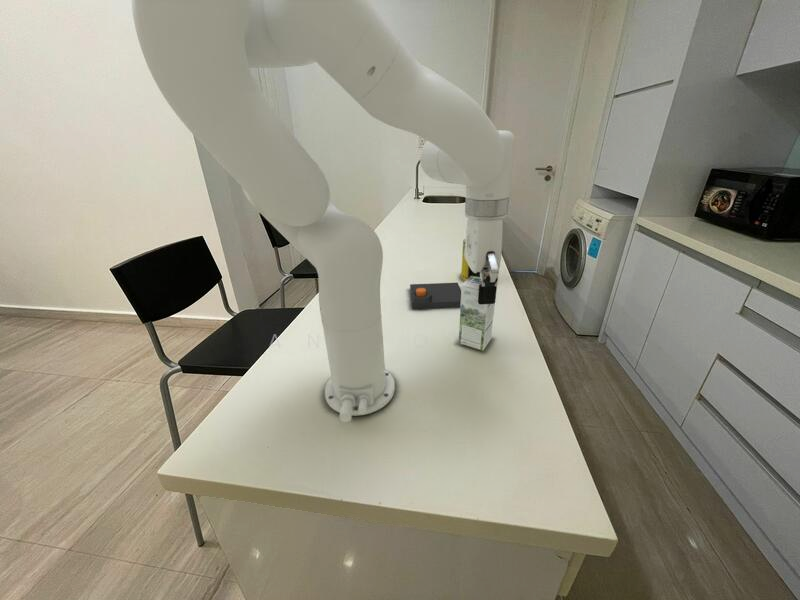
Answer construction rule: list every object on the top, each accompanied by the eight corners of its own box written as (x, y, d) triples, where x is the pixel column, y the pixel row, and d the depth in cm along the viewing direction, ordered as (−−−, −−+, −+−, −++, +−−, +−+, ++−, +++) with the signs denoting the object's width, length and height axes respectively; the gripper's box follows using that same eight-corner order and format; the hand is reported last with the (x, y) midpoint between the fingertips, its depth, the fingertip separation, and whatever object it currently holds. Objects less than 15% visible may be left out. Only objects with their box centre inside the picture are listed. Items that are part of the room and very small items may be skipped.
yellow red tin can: (470, 285, 99) (473, 247, 93) (456, 275, 107) (457, 238, 101) (496, 281, 101) (500, 243, 96) (480, 270, 109) (483, 235, 104)
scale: (465, 308, 86) (466, 296, 85) (411, 310, 86) (411, 298, 85) (457, 288, 98) (457, 277, 96) (409, 290, 98) (409, 279, 96)
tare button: (426, 297, 86) (426, 291, 86) (416, 297, 86) (416, 292, 86) (425, 292, 89) (425, 287, 88) (415, 293, 89) (415, 287, 88)
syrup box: (491, 338, 74) (498, 279, 67) (482, 352, 69) (488, 290, 63) (467, 332, 76) (471, 274, 70) (457, 344, 72) (460, 284, 65)
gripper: (457, 199, 67) (455, 276, 75) (476, 220, 52) (470, 314, 60) (494, 197, 67) (488, 274, 75) (524, 217, 52) (512, 312, 60)
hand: (480, 292), depth 67 cm, fingers open, 9 cm apart
